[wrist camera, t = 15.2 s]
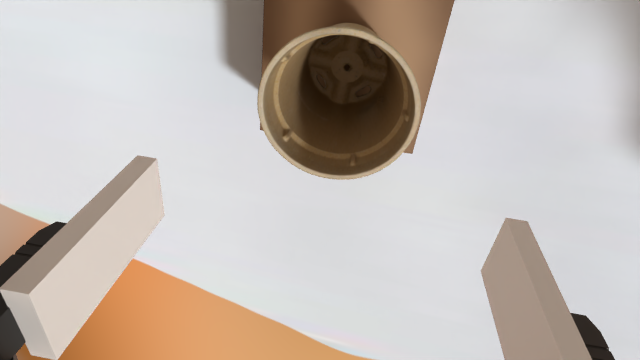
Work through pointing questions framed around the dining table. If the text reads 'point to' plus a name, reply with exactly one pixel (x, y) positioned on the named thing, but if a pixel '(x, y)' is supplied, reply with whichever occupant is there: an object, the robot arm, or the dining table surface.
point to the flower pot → (339, 103)
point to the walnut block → (374, 13)
